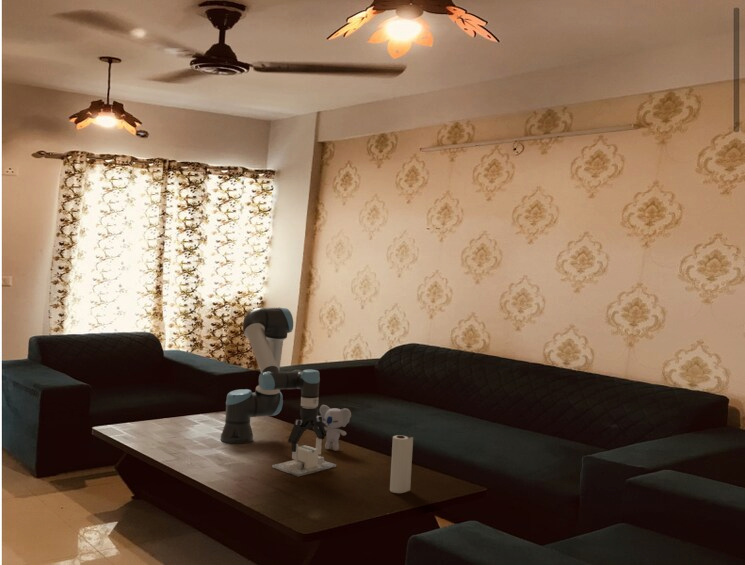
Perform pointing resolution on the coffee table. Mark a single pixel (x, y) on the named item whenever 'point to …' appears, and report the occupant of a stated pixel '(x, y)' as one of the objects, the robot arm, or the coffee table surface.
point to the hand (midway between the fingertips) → (306, 456)
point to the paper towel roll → (401, 464)
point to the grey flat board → (300, 470)
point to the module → (308, 456)
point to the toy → (334, 424)
